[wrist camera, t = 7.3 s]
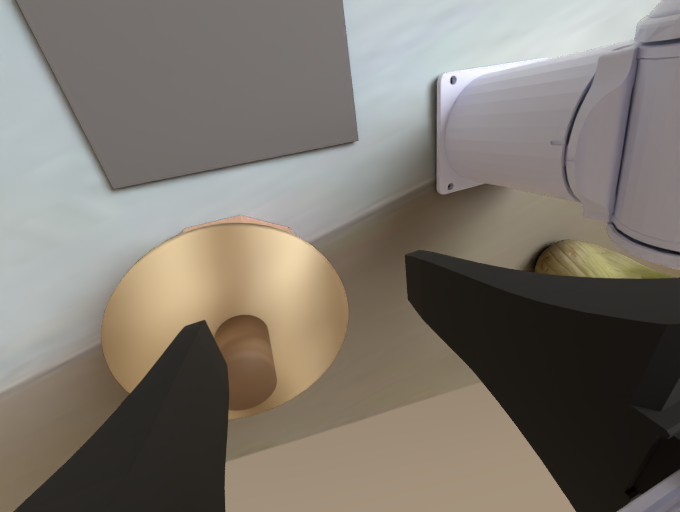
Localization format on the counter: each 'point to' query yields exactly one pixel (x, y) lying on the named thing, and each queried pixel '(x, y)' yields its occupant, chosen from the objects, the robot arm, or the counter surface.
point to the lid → (232, 310)
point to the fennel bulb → (591, 262)
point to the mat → (198, 79)
